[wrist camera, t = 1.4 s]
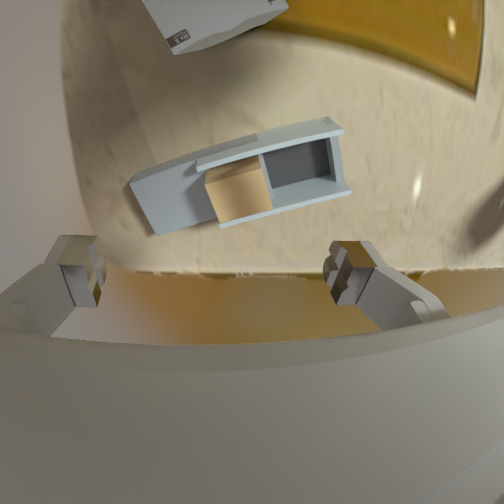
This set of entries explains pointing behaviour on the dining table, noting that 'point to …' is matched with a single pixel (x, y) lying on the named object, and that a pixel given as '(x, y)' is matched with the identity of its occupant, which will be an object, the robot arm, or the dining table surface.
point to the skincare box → (208, 20)
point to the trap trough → (273, 166)
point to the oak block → (238, 189)
